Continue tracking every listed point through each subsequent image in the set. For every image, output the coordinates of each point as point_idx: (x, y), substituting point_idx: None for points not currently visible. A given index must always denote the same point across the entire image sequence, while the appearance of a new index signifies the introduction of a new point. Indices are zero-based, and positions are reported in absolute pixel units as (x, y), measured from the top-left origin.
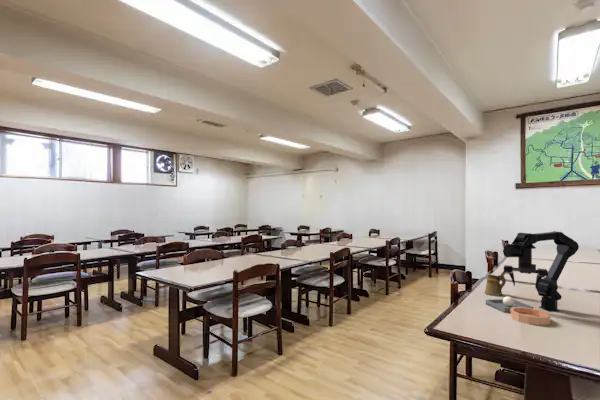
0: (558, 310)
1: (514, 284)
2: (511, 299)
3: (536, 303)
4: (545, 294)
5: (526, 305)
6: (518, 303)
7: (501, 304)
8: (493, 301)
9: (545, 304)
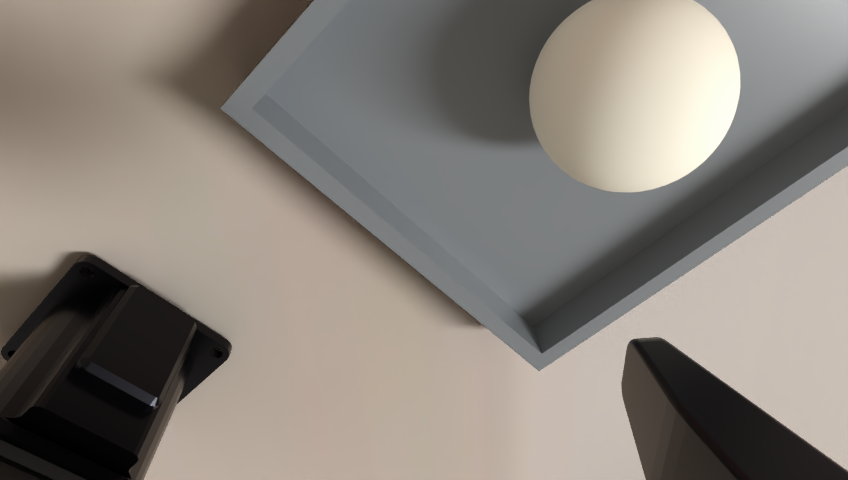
0: (13, 335)
1: (664, 366)
2: (597, 57)
3: (293, 477)
4: (4, 459)
5: (338, 177)
6: (457, 269)
7: None
8: (825, 136)
9: (104, 328)
